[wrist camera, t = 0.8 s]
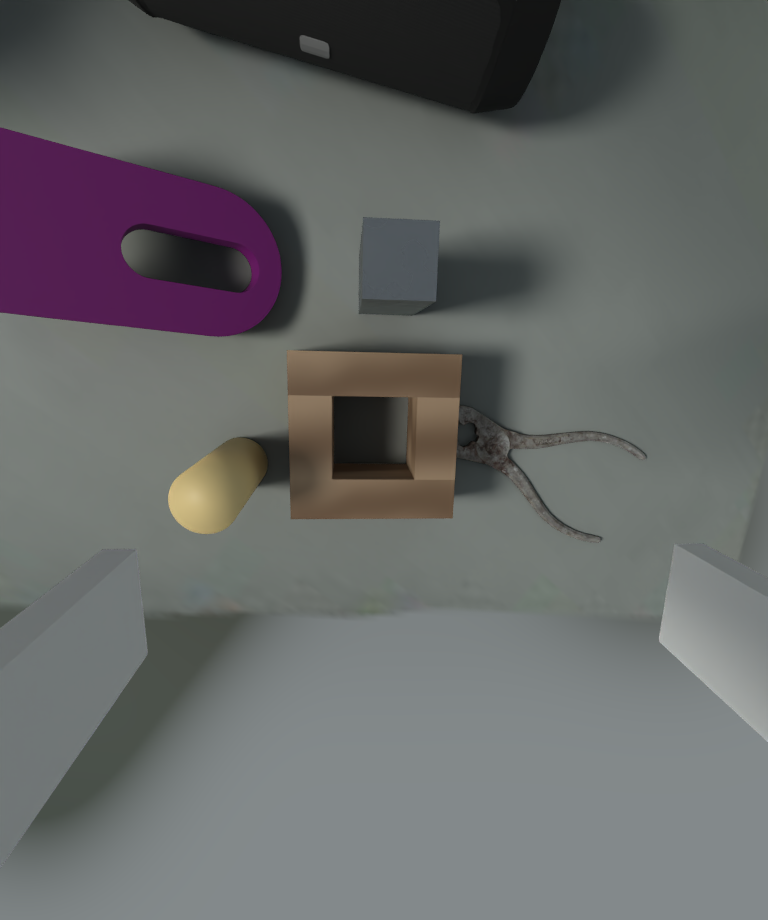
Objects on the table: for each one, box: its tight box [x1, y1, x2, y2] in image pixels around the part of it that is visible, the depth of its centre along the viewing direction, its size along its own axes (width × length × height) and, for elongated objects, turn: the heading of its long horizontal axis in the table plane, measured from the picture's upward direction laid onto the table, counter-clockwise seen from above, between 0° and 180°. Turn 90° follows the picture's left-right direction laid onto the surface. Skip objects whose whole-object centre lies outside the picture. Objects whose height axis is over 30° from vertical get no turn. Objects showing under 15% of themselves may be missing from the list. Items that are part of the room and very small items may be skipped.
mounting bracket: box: [0, 128, 282, 337], centre depth 32 cm, size 10×8×18 cm
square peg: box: [359, 217, 440, 315], centre depth 30 cm, size 4×4×10 cm
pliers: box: [456, 405, 646, 543], centre depth 40 cm, size 10×1×20 cm
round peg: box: [168, 438, 268, 534], centre depth 33 cm, size 4×4×10 cm
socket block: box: [287, 350, 462, 519], centre depth 35 cm, size 12×12×5 cm
